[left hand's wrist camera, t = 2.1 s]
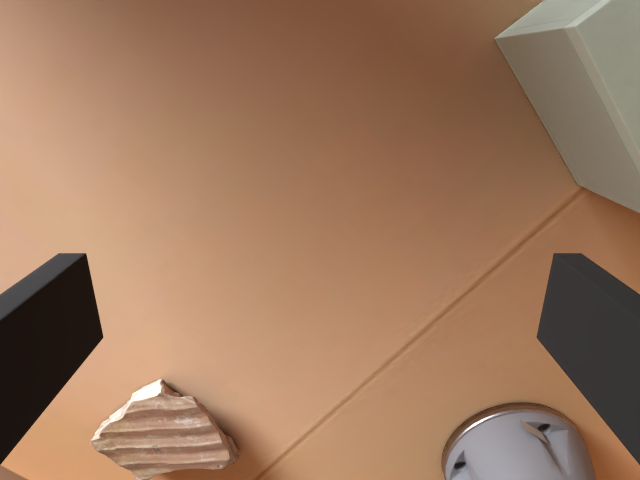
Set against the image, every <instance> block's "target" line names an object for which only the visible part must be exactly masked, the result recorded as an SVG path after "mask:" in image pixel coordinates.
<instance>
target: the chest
mask: <svg viewBox="0 0 640 480" xmlns="http://www.w3.org/2000/svg"><path fill="white" fill-rule="evenodd" d="M599 1H601V0H544V1H542V2H541V3H540V4H538V5H537V6H536V7H534V8H533V9H532V10H530V11H529V12H528V13H527V14H525V15H524V16H523V17H521V18H520V19H519V20H517V21H516V22H515V23H513V24H512V25H511V26H509V27H508V28H507V29H506V30H504V31H503V32H502V33H500V34H499V35H498V36H496V37H495V38H494V40H495V42H496V43H497V45H498V47H499V49H500V50H501V52H502V54H503V56H504V57H505V59H506V61H507V63H508V64H509V66H510V68H511V70H512V71H513V73H514V75H515V76H516V78H517V80H518V82H519V83H520V85H521V87H522V89H523V90H524V92H525V94H526V96H527V97H528V99H529V101H530V103H531V104H532V106H533V108H534V110H535V111H536V113H537V115H538V117H539V118H540V120H541V122H542V124H543V125H544V127H545V129H546V131H547V132H548V134H549V136H550V138H551V139H552V141H553V143H554V145H555V146H556V148H557V150H558V152H559V153H560V155H561V157H562V159H563V160H564V162H565V164H566V166H567V167H568V169H569V171H570V173H571V174H572V176H573V178H574V180H575V181H576V183H577V185H579V186H582V187H583V188H586V189H588V190H590V191H592V192H594V193H596V194H599V195H601V196H603V197H605V198H607V199H609V200H612V201H614V202H616V203H618V204H620V205H623V206H625V207H627V208H629V209H631V210H633V211H636V212H638V213H640V175H639V173H638V171H637V169H636V167H635V165H634V163H633V161H632V159H631V157H630V155H629V153H628V151H627V149H626V147H625V145H624V144H623V142H622V140H621V138H620V136H619V134H618V132H617V130H616V128H615V126H614V124H613V122H612V120H611V118H610V116H609V114H608V112H607V111H606V109H605V107H604V105H603V103H602V101H601V99H600V97H599V95H598V93H597V91H596V89H595V87H594V85H593V83H592V81H591V79H590V77H589V76H588V74H587V72H586V70H585V68H584V66H583V64H582V62H581V60H580V58H579V56H578V54H577V52H576V50H575V48H574V46H573V44H572V42H571V41H570V39H569V37H568V35H567V33H566V31H565V29H564V28H565V26H567V25H568V24H569V23H571V22H572V21H573V20H575V19H576V18H578V17H579V16H580V15H582V14H583V13H584V12H586V11H587V10H588V9H590V8H591V7H592V6H594V5H595V4H596V3H598V2H599Z"/></svg>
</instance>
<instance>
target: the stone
mask: <svg viewBox="0 0 640 480" xmlns="http://www.w3.org/2000/svg"><path fill="white" fill-rule="evenodd" d="M90 443H91V445H92V446H93V447H94V448H95V449H96V450H97V451H98V452H100V453H102V454H104V455H106V456H107V457H108V458H110V459H111V460H112V461H114V462H115V463H116V464H117V465H119V466H121V467H124V468H126V469H128V470H130V471H131V472H132V473H133V475H134V476H135V477H136V479H137V480H149V479H151V478H152V477H154V476H156V475H160V474H163V473H169V472H171V471H175V470H185V469H199V468H200V469H224V468H225V467H226V466H227V465H228V464H234V463H236V460H237V459H238V458H239V457H240V450H239V449H237V447H236V445H235V443H234V441H233V439H232V438H231V437H230V436H227V435H225V434H224V433H223V431H222V430H221V429H220V428H219V427H218V426H217V423H216V422H215V420H214V418H213V416H212V414H211V413H210V412H209V411H208V410H207V409H206V408H205V407H204V406H203V405H202V404H201V403H199V402H198V401H197V400H196V398H195V397H192V396H185V397H181V395H180V394H179V393H176V392H174V391H172V390H171V389H169V388H168V387H167V385H166V383H165V381H164V380H163V379H159V380H157V381H155V382H153V383H151V384H149V385H147V386H144V387H142V389H140V390H138V391H136V392H134V393H133V394H132V397H131V400H129V401H128V402H127V404H126V405H124V406H123V407H122V408H120V409H119V410H117V411H116V412H115V413H114V414H112V415H110V417H109V419H107V420H105V421H104V422H103V423H102V424H101V425H100V428H99V429H98V430H97V431H96V433H95V435H94V437H93V438H92V439H91V440H90Z"/></svg>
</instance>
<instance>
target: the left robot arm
mask: <svg viewBox="0 0 640 480" xmlns="http://www.w3.org/2000/svg"><path fill="white" fill-rule="evenodd" d="M102 338H103V333H102V328H101V324H100V319H99V314H98V309H97V304H96V299H95V294H94V289H93V285H92V280H91V275H90V270H89V265H88V260H87V255H86V253H59V254H57V255H56V256H54V257H53V258H52V259H50V260H49V261H47V262H46V263H45V264H43V265H42V266H40V267H39V268H37V269H36V270H35V271H33V272H32V273H30V274H29V275H27V276H26V277H25V278H23V279H22V280H20V281H19V282H17V283H16V284H15V285H13V286H12V287H10V288H9V289H8V290H6V291H5V292H3V293H2V294H0V464H1V463H2V462H3V461H4V460H5V458H6V457H7V456H8V455H9V453H10V452H11V451H12V450H13V448H14V447H15V446H16V445H17V443H18V442H19V441H20V440H21V439H22V437H23V436H24V435H25V434H26V432H27V431H28V430H29V429H30V427H31V426H32V425H33V424H34V422H35V421H36V420H37V419H38V418H39V416H40V415H41V414H42V413H43V411H44V410H45V409H46V408H47V406H48V405H49V404H50V403H51V401H52V400H53V399H54V398H55V397H56V395H57V394H58V393H59V392H60V390H61V389H62V388H63V387H64V385H65V384H66V383H67V382H68V380H69V379H70V378H71V377H72V376H73V374H74V373H75V372H76V371H77V369H78V368H79V367H80V366H81V364H82V363H83V362H84V361H85V359H86V358H87V357H88V356H89V355H90V353H91V352H92V351H93V350H94V348H95V347H96V346H97V345H98V343H99V342H100V341H101V340H102ZM537 338H538V340H539V341H540V342H541V343H542V345H543V346H544V347H545V348H546V350H547V351H548V352H549V353H550V355H551V356H552V357H553V358H554V359H555V361H556V362H557V363H558V364H559V366H560V367H561V368H562V369H563V371H564V372H565V373H566V374H567V376H568V377H569V378H570V379H571V380H572V382H573V383H574V384H575V385H576V387H577V388H578V389H579V390H580V392H581V393H582V394H583V395H584V397H585V398H586V399H587V400H588V401H589V403H590V404H591V405H592V406H593V408H594V409H595V410H596V411H597V413H598V414H599V415H600V416H601V418H602V419H603V420H604V421H605V422H606V424H607V425H608V426H609V427H610V429H611V430H612V431H613V432H614V434H615V435H616V436H617V437H618V439H619V440H620V441H621V442H622V443H623V445H624V446H625V447H626V448H627V450H628V451H629V452H630V453H631V455H632V456H633V457H634V458H635V460H636V461H637V462H638V463H639V464H640V294H638V293H637V292H635V291H634V290H632V289H631V288H630V287H628V286H627V285H625V284H624V283H623V282H621V281H620V280H618V279H617V278H615V277H614V276H613V275H611V274H610V273H608V272H607V271H605V270H604V269H603V268H601V267H600V266H598V265H597V264H595V263H594V262H593V261H591V260H590V259H588V258H587V257H586V256H584V255H583V254H581V253H554V255H553V260H552V265H551V270H550V275H549V280H548V285H547V289H546V294H545V299H544V304H543V309H542V314H541V319H540V324H539V328H538V333H537ZM442 470H443V474H444V477H445V480H596V476H595V473H594V469H593V465H592V462H591V458H590V454H589V451H588V448H587V446H586V444H585V442H584V440H583V438H582V436H581V435H580V433H579V432H578V430H577V429H576V428H575V426H574V425H573V423H572V422H571V421H570V420H569V419H568V418H567V417H566V416H564V415H563V414H562V413H560V412H558V411H557V410H555V409H552V408H550V407H547V406H544V405H540V404H534V403H509V404H503V405H499V406H495V407H492V408H489V409H486V410H484V411H482V412H480V413H478V414H476V415H474V416H472V417H471V418H469V419H468V420H466V421H465V422H464V423H463V424H461V425H460V426H459V427H458V428H457V429H456V430H455V431H454V432H453V434H452V435H451V436H450V438H449V440H448V441H447V443H446V445H445V448H444V450H443V454H442Z"/></svg>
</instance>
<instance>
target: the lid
mask: <svg viewBox="0 0 640 480" xmlns="http://www.w3.org/2000/svg"><path fill="white" fill-rule="evenodd" d="M564 29H565V31H566V33H567V35H568V37H569V39H570V41H571V42H572V44H573V46H574V48H575V50H576V52H577V54H578V56H579V58H580V60H581V62H582V64H583V66H584V68H585V70H586V72H587V74H588V76H589V77H590V79H591V81H592V83H593V85H594V87H595V89H596V91H597V93H598V95H599V97H600V99H601V101H602V103H603V105H604V107H605V109H606V111H607V112H608V114H609V116H610V118H611V120H612V122H613V124H614V126H615V128H616V130H617V132H618V134H619V136H620V138H621V140H622V142H623V144H624V145H625V147H626V149H627V151H628V153H629V155H630V157H631V159H632V161H633V163H634V165H635V167H636V169H637V171H638V173H639V175H640V0H601V1H599V2H598V3H596V4H595V5H594V6H592V7H591V8H590V9H588V10H587V11H586V12H584V13H583V14H582V15H580V16H579V17H578V18H576V19H575V20H573V21H572V22H571V23H569V24H568V25H567V26H565V28H564Z"/></svg>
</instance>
